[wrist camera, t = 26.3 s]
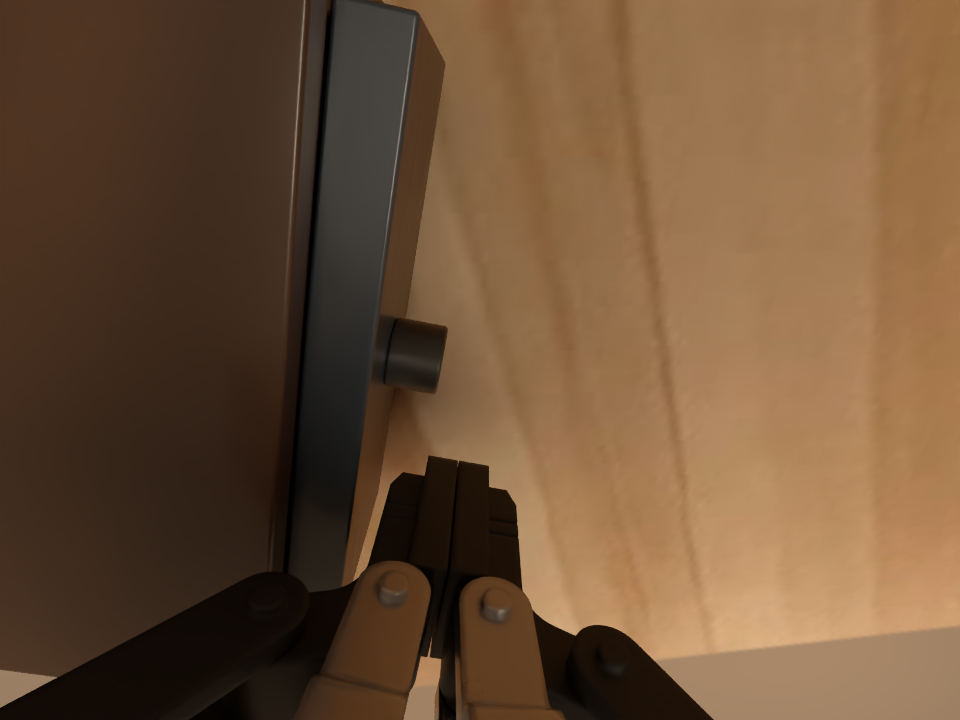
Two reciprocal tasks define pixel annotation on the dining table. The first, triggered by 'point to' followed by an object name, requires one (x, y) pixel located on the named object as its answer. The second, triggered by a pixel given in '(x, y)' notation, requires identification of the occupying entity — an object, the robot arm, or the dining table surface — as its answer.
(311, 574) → the drawer
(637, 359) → the dining table surface
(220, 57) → the cabinet
